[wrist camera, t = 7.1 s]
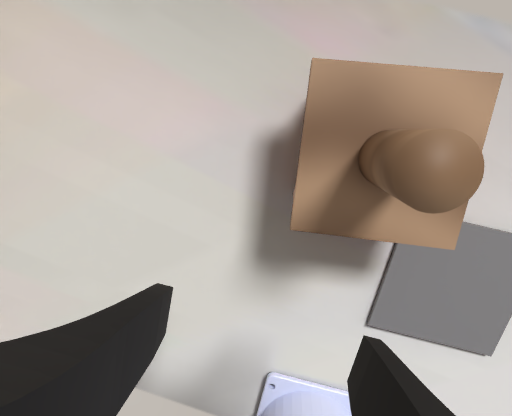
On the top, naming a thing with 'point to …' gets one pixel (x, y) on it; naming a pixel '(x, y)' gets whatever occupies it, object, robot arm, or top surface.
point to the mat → (449, 291)
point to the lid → (391, 151)
